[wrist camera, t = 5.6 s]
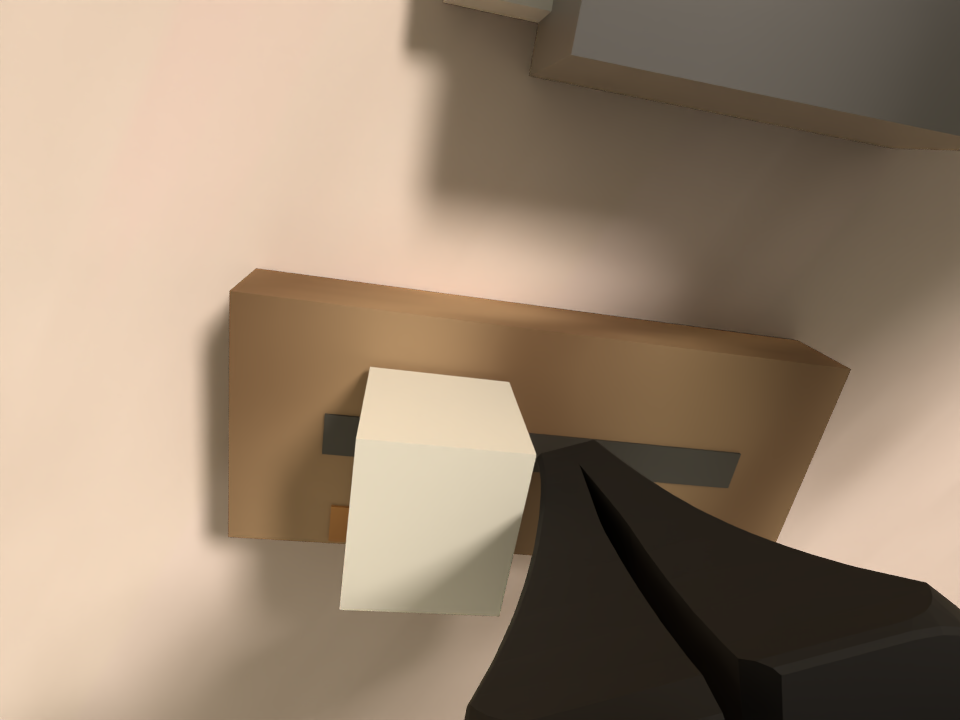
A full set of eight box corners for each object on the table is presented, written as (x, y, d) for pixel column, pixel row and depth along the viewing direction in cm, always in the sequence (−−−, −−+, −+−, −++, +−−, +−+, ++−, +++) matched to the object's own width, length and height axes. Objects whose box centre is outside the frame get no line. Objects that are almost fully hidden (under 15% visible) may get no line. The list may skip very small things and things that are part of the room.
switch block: (797, 340, 15) (852, 370, 13) (726, 522, 17) (765, 570, 15) (256, 268, 13) (229, 291, 11) (251, 487, 15) (227, 538, 13)
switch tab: (508, 381, 12) (536, 454, 9) (482, 517, 14) (499, 616, 11) (370, 366, 12) (355, 438, 9) (355, 508, 13) (339, 609, 10)
